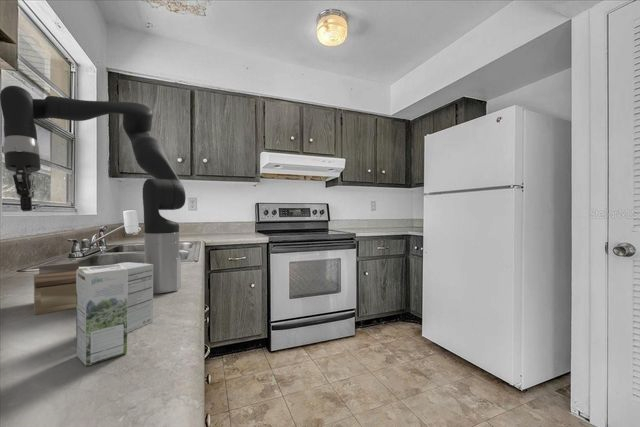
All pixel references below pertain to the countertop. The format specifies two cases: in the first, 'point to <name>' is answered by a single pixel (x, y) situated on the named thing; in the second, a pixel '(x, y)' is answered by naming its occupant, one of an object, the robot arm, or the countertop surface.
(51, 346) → the countertop surface
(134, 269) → the supplement box
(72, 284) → the box
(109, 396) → the countertop surface
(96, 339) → the syrup box
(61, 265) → the brown wooden block
